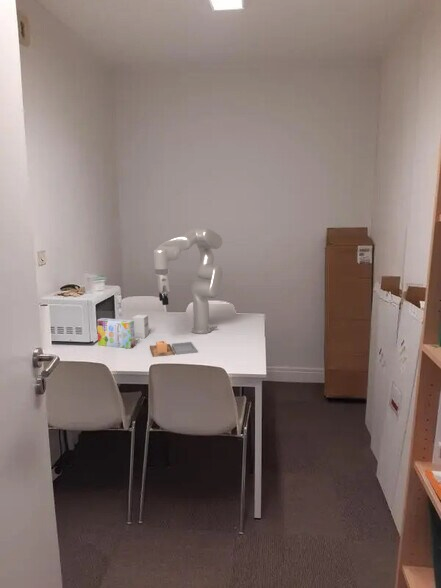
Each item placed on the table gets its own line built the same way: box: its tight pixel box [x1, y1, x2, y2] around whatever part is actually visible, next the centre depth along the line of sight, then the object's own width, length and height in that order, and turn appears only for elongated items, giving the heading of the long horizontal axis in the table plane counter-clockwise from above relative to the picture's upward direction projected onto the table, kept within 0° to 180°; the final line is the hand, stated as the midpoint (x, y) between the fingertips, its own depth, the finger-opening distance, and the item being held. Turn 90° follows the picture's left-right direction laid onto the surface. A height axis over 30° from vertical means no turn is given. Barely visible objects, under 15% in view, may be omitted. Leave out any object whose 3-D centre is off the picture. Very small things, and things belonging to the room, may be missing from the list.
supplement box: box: [132, 314, 150, 339], centre depth 267 cm, size 7×7×13 cm
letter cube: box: [155, 340, 168, 353], centre depth 237 cm, size 5×5×5 cm
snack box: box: [96, 317, 136, 349], centre depth 250 cm, size 21×6×15 cm, turn 71°
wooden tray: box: [149, 343, 175, 358], centre depth 237 cm, size 11×14×2 cm
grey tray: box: [171, 341, 198, 356], centre depth 240 cm, size 11×14×2 cm
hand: (163, 302), depth 244 cm, fingers open, 9 cm apart
